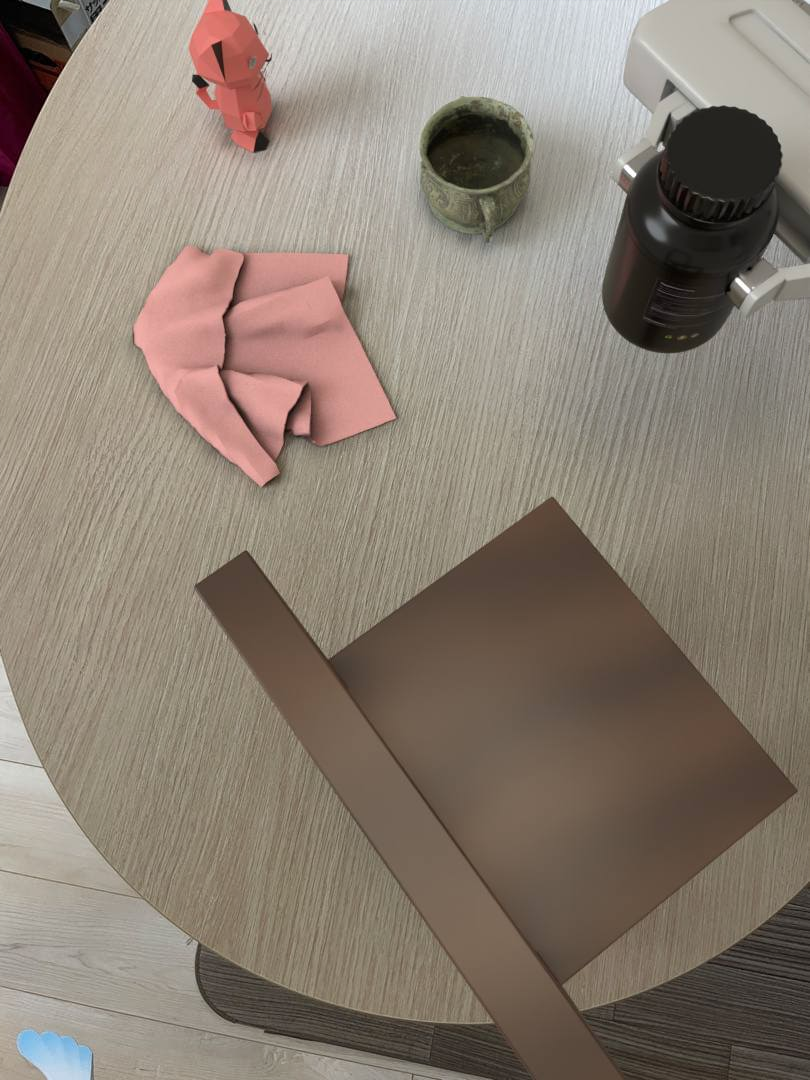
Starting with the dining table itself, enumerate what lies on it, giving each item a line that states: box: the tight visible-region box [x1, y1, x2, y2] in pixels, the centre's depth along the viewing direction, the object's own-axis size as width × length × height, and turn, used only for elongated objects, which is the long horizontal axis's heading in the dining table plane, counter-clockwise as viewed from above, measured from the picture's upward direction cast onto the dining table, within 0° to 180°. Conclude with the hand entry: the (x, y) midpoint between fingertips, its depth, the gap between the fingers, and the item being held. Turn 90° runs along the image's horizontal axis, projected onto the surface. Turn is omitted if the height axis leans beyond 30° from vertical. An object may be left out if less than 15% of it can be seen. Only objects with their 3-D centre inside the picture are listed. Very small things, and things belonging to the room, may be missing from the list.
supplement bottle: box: [601, 105, 783, 354], centre depth 45 cm, size 7×7×12 cm
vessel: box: [418, 95, 535, 244], centre depth 74 cm, size 12×9×6 cm
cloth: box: [131, 245, 397, 488], centre depth 72 cm, size 20×22×2 cm
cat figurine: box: [188, 0, 273, 154], centre depth 74 cm, size 7×7×12 cm
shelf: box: [193, 496, 798, 1080], centre depth 43 cm, size 16×14×44 cm
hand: (679, 239), depth 44 cm, fingers closed on supplement bottle, 7 cm apart
